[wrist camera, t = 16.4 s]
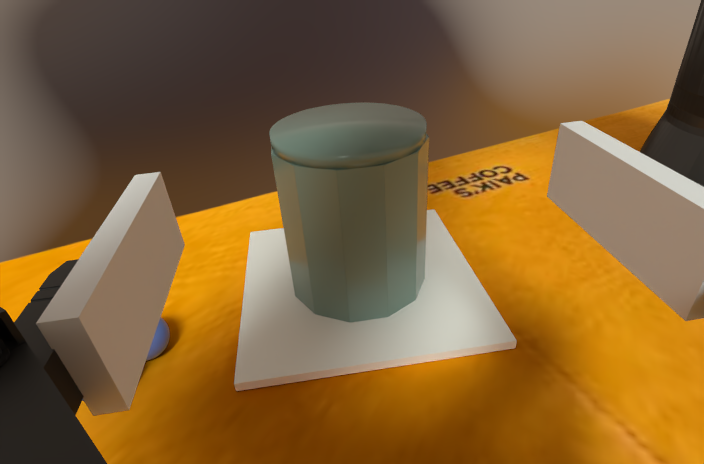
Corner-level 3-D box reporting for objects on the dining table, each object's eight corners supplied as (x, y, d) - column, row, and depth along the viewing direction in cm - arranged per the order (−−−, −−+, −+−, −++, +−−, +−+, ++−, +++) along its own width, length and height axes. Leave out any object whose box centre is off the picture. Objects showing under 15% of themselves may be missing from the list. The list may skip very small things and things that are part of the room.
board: (434, 215, 39) (434, 209, 39) (515, 348, 26) (517, 340, 25) (251, 238, 38) (250, 232, 38) (236, 391, 24) (233, 383, 24)
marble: (179, 333, 28) (167, 300, 27) (170, 367, 26) (156, 332, 25) (134, 339, 28) (119, 306, 27) (121, 374, 26) (104, 339, 24)
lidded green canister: (405, 235, 36) (405, 97, 30) (439, 309, 28) (448, 143, 22) (292, 249, 35) (270, 110, 29) (296, 330, 27) (267, 163, 21)
